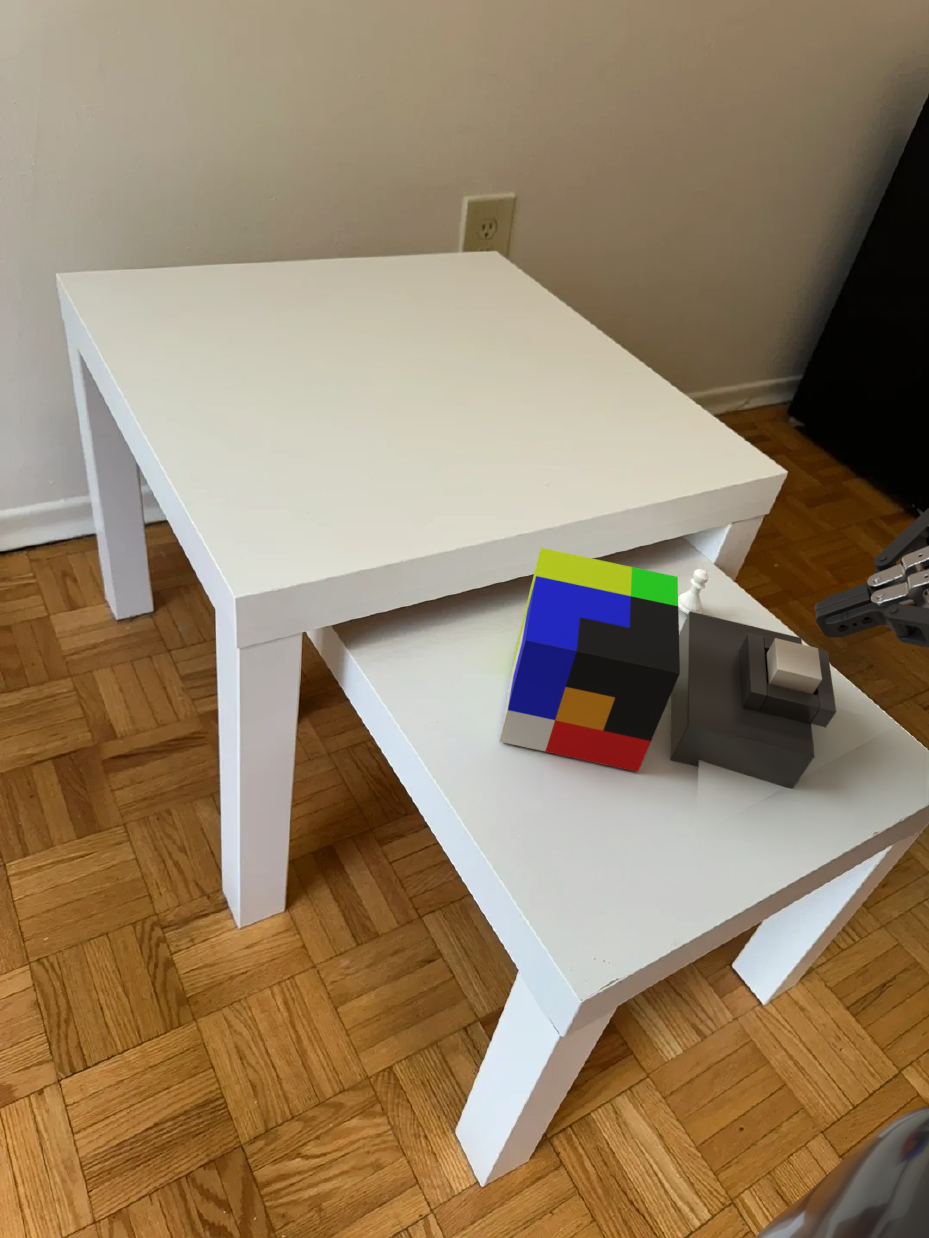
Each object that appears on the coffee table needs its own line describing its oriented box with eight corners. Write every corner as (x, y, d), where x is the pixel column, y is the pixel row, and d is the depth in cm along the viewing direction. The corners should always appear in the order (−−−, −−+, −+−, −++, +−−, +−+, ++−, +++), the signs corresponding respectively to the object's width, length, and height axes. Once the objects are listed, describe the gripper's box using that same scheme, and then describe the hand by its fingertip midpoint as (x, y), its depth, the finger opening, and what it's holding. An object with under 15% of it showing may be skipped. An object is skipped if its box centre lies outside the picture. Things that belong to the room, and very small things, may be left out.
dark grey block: (805, 795, 67) (841, 744, 63) (669, 761, 67) (696, 709, 63) (793, 676, 76) (824, 624, 72) (673, 647, 76) (696, 594, 72)
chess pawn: (706, 613, 80) (722, 578, 77) (689, 619, 79) (704, 583, 76) (687, 595, 81) (701, 559, 78) (670, 600, 80) (683, 564, 78)
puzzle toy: (499, 741, 66) (525, 640, 59) (515, 647, 73) (540, 547, 67) (638, 771, 66) (680, 673, 59) (640, 673, 73) (677, 576, 67)
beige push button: (812, 695, 66) (822, 679, 65) (768, 685, 67) (777, 668, 65) (808, 664, 69) (818, 648, 68) (766, 653, 69) (775, 637, 68)
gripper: (1060, 418, 58) (789, 525, 67) (1131, 549, 48) (804, 653, 57) (1092, 505, 62) (831, 596, 70) (1163, 643, 52) (851, 727, 61)
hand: (819, 621), depth 64 cm, fingers closed
